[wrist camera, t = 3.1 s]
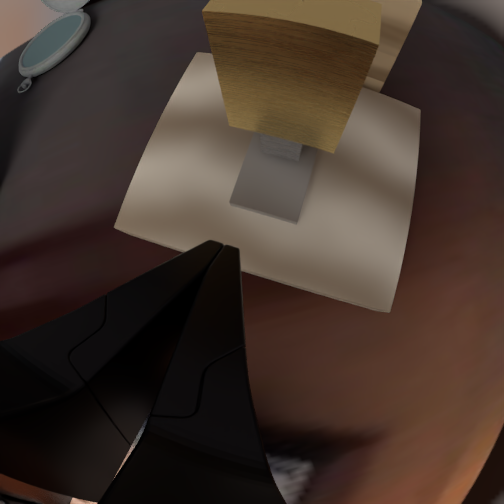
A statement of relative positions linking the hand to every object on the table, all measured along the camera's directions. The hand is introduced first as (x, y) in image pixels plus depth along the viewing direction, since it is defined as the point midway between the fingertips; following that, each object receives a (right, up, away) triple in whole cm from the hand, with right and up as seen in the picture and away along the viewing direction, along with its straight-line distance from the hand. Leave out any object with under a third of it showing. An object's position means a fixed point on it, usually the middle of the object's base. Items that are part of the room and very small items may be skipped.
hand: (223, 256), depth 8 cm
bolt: (+3, +8, +7) cm, 12 cm away
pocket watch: (-21, +24, +14) cm, 35 cm away
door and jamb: (+3, +8, +10) cm, 14 cm away
